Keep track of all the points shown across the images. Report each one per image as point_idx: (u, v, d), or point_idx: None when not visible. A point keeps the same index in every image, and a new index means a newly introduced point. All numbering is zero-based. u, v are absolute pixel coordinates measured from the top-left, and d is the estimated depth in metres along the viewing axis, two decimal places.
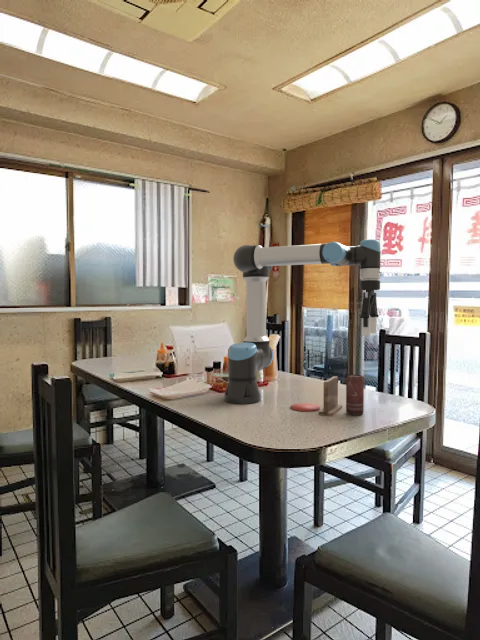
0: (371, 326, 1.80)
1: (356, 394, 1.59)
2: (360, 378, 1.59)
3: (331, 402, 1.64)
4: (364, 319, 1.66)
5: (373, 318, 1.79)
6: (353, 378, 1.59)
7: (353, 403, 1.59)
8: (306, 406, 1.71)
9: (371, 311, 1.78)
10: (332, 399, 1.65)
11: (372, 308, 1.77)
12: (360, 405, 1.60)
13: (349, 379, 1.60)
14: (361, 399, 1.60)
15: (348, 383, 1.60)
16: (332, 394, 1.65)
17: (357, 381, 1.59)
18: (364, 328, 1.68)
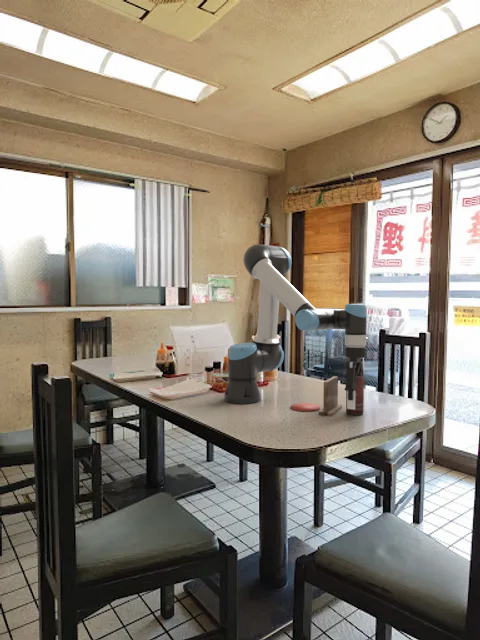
0: None
1: (356, 394, 1.59)
2: (360, 378, 1.59)
3: (331, 402, 1.64)
4: (349, 392, 1.55)
5: None
6: None
7: None
8: (306, 406, 1.71)
9: None
10: (332, 399, 1.65)
11: None
12: (360, 405, 1.60)
13: None
14: (361, 399, 1.60)
15: None
16: (332, 394, 1.65)
17: (357, 381, 1.59)
18: (349, 401, 1.56)
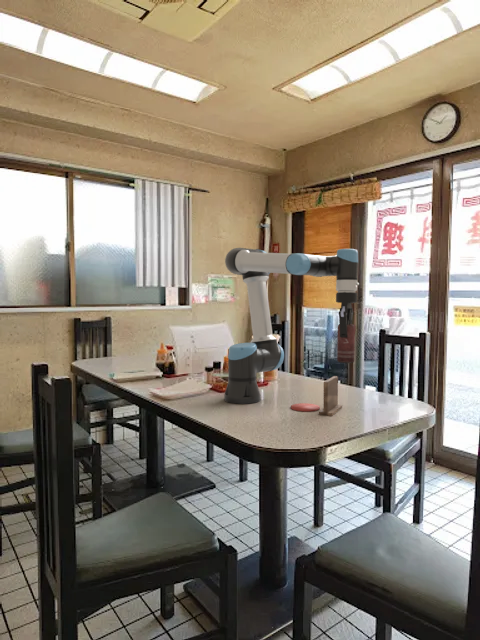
0: None
1: (347, 342, 1.60)
2: (351, 326, 1.60)
3: (331, 402, 1.64)
4: None
5: None
6: None
7: (344, 351, 1.60)
8: (306, 406, 1.71)
9: None
10: (332, 399, 1.65)
11: None
12: (351, 352, 1.60)
13: None
14: (352, 347, 1.61)
15: (339, 331, 1.61)
16: (332, 394, 1.65)
17: (348, 328, 1.60)
18: None
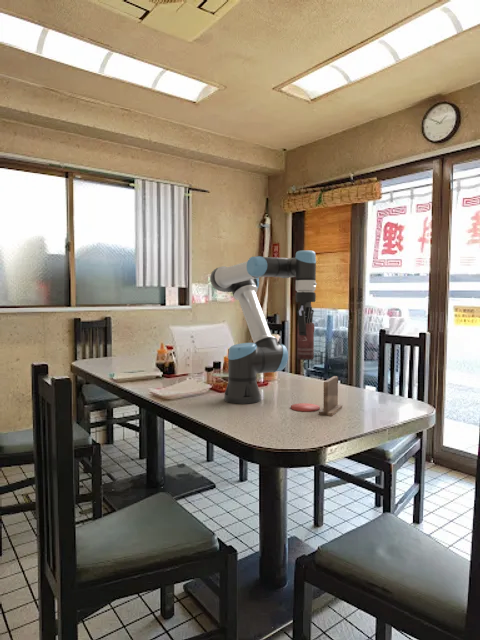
0: None
1: (306, 339, 1.67)
2: (310, 324, 1.67)
3: (331, 402, 1.64)
4: None
5: None
6: None
7: (303, 348, 1.67)
8: (306, 406, 1.71)
9: None
10: (332, 399, 1.65)
11: None
12: (310, 350, 1.67)
13: None
14: (311, 344, 1.67)
15: None
16: (332, 394, 1.65)
17: (307, 327, 1.67)
18: None
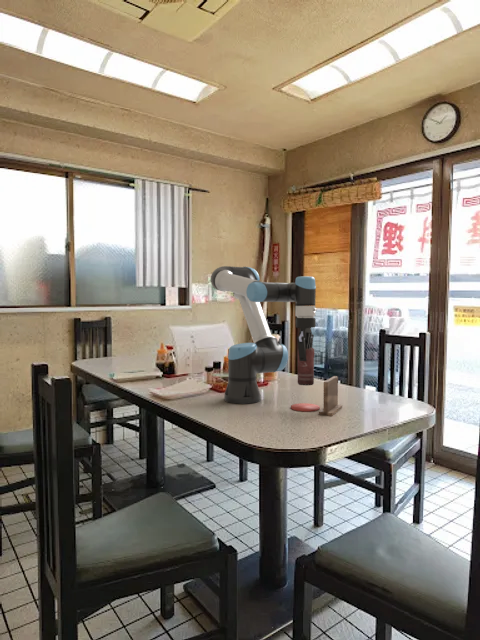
0: None
1: (306, 365, 1.67)
2: (310, 349, 1.67)
3: (331, 402, 1.64)
4: None
5: None
6: None
7: (303, 374, 1.67)
8: (306, 406, 1.71)
9: None
10: (332, 399, 1.65)
11: None
12: (310, 375, 1.67)
13: None
14: (311, 370, 1.68)
15: None
16: (332, 394, 1.65)
17: (307, 352, 1.67)
18: None
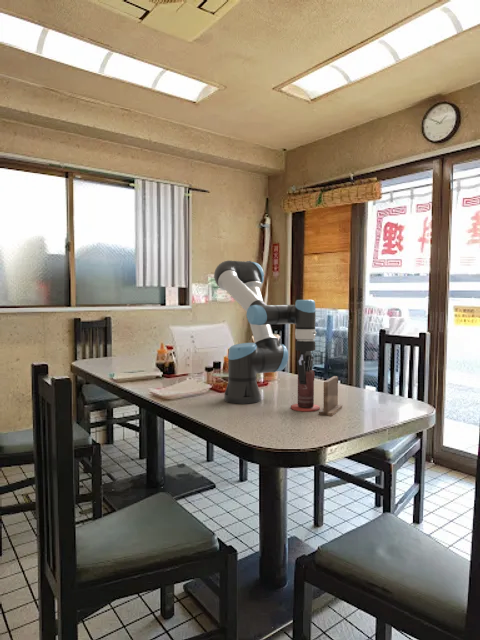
0: None
1: (306, 387, 1.67)
2: (310, 372, 1.68)
3: (331, 402, 1.64)
4: None
5: None
6: None
7: (303, 396, 1.67)
8: None
9: None
10: (332, 399, 1.65)
11: None
12: (310, 398, 1.68)
13: None
14: (311, 392, 1.68)
15: None
16: (332, 394, 1.65)
17: (307, 375, 1.67)
18: None
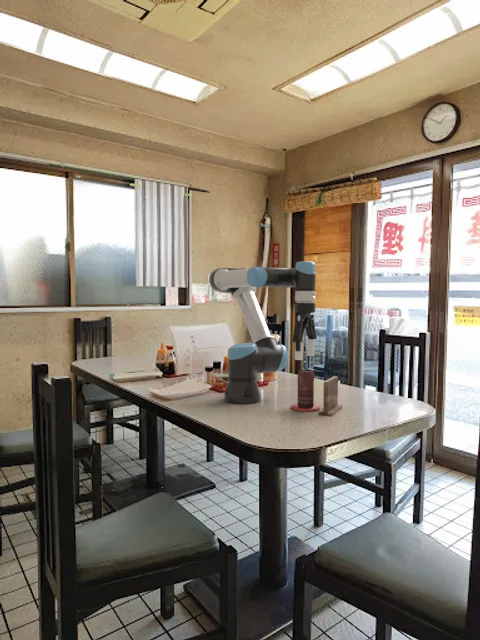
0: (308, 348, 1.77)
1: (306, 388, 1.67)
2: (310, 373, 1.67)
3: (331, 402, 1.64)
4: (296, 343, 1.64)
5: (311, 340, 1.76)
6: (303, 373, 1.67)
7: (303, 397, 1.67)
8: None
9: (308, 333, 1.76)
10: (332, 399, 1.65)
11: (309, 330, 1.74)
12: (310, 398, 1.68)
13: (300, 374, 1.68)
14: (311, 393, 1.68)
15: (299, 378, 1.68)
16: (332, 394, 1.65)
17: (307, 376, 1.67)
18: (297, 352, 1.65)
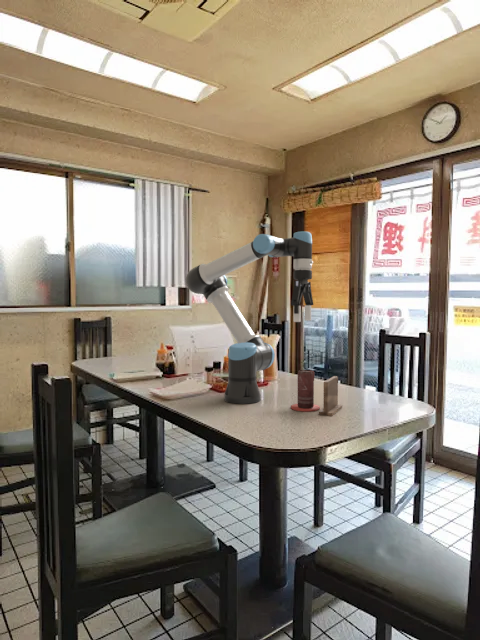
0: (306, 314, 1.91)
1: (306, 388, 1.67)
2: (310, 373, 1.67)
3: (331, 402, 1.64)
4: (295, 306, 1.77)
5: (308, 306, 1.90)
6: (303, 373, 1.67)
7: (303, 397, 1.67)
8: None
9: (306, 299, 1.90)
10: (332, 399, 1.65)
11: (306, 296, 1.88)
12: (310, 398, 1.68)
13: (300, 374, 1.68)
14: (311, 393, 1.68)
15: (299, 378, 1.68)
16: (332, 394, 1.65)
17: (307, 376, 1.67)
18: (295, 315, 1.79)
